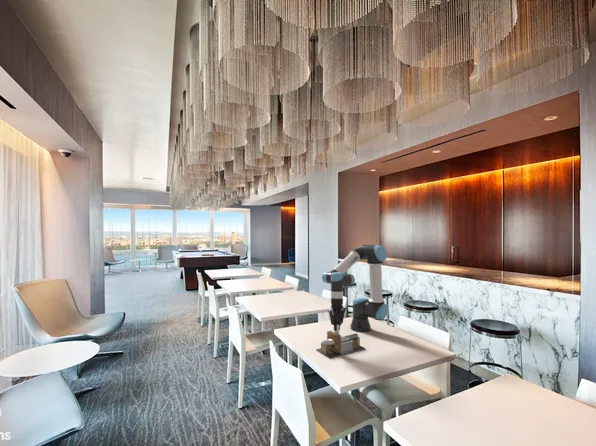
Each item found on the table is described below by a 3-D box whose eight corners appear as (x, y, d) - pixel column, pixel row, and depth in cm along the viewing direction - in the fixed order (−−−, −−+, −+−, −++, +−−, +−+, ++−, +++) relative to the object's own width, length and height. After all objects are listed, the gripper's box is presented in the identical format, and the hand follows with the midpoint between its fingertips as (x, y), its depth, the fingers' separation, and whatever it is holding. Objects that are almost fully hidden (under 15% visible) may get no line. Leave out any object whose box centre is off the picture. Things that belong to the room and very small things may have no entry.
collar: (330, 346, 185) (330, 330, 185) (340, 352, 176) (341, 335, 177) (327, 347, 184) (327, 331, 184) (337, 353, 175) (337, 336, 175)
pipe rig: (350, 342, 196) (350, 329, 196) (365, 349, 184) (365, 336, 184) (316, 350, 182) (316, 337, 182) (329, 358, 170) (329, 344, 170)
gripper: (341, 295, 189) (341, 332, 188) (324, 297, 182) (324, 335, 181) (348, 297, 182) (348, 335, 182) (332, 299, 176) (332, 339, 175)
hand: (336, 335), depth 181 cm, fingers closed
